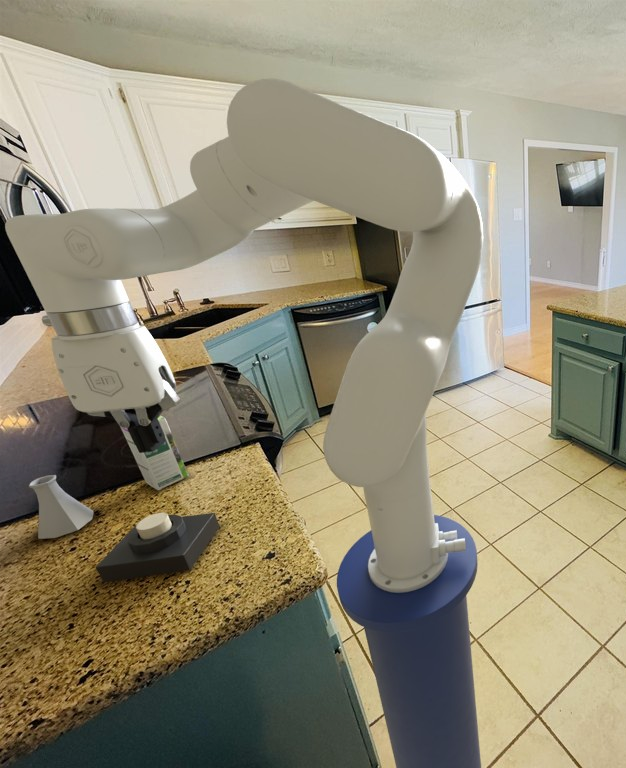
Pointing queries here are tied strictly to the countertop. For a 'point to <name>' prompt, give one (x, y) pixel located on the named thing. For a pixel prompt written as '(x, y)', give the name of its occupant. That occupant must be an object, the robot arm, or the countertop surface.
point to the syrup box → (159, 460)
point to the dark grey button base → (160, 549)
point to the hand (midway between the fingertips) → (153, 447)
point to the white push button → (153, 526)
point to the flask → (58, 509)
